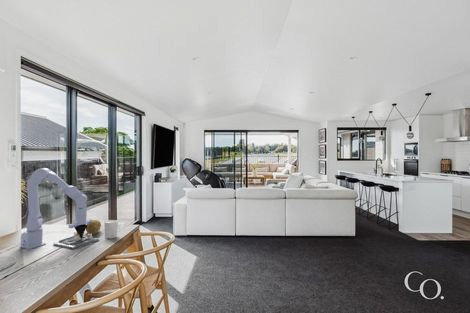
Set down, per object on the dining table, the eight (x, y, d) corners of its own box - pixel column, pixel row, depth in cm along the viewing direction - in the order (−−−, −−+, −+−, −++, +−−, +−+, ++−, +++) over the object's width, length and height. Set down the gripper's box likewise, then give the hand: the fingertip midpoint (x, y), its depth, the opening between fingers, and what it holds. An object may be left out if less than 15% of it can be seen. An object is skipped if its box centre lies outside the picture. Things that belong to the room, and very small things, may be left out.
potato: (102, 229, 190) (102, 216, 190) (98, 236, 175) (98, 222, 175) (88, 230, 187) (88, 216, 187) (83, 237, 172) (83, 222, 172)
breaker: (76, 241, 160) (76, 235, 160) (73, 241, 161) (73, 234, 161) (80, 240, 163) (80, 234, 163) (77, 239, 163) (77, 233, 163)
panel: (73, 249, 151) (74, 240, 151) (53, 245, 156) (53, 236, 156) (98, 240, 167) (99, 232, 167) (79, 237, 172) (79, 229, 172)
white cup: (114, 234, 180) (115, 219, 180) (119, 237, 174) (120, 221, 174) (102, 236, 175) (102, 221, 174) (106, 239, 169) (107, 223, 169)
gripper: (75, 218, 156) (74, 241, 156) (96, 213, 169) (95, 235, 169) (66, 216, 158) (65, 240, 158) (87, 212, 172) (87, 233, 172)
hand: (80, 237), depth 164 cm, fingers closed
